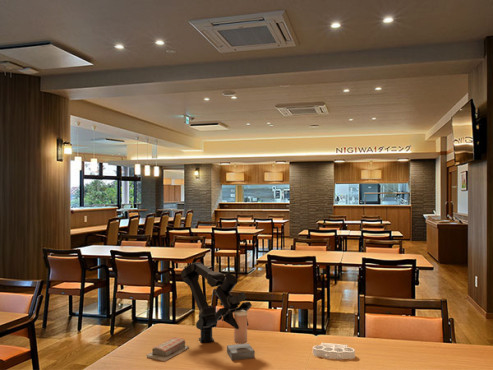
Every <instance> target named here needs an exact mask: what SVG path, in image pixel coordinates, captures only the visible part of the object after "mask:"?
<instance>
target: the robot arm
mask: <svg viewBox="0 0 493 370" xmlns="http://www.w3.org/2000/svg"><path fill="white" fill-rule="evenodd" d="M200 276H201V277H202V278H204V279H206V283H207V284H208V285H209V286H210V287H211V288H214V287H215V289H214V291H213V296H217V298H218V299H219V301H220V303H219V305H220V306H221V308H219V309H218V310H217V311H216V308H215V307H214V306H209V303H208V301H207V299H206V296H205V294H204V292H203V290H202V287H201V285H200V283H199V280H200V279H199V278H200ZM180 277H181V278H182V281H183V282H184V283H185V284H186V285H187V286H188V287H189V288H190V291H191V293H192V296H193V298H194V300H195V303H196V306H197V307H198V320H197V321H196V323H195V327H196V329H197V330H199V331H200V337H198V339H199V340H198V341H199V342H200V343H201V344H204V343H213V342H215V339H214V338H213V328H216V327H217V325H218V321H222V322H224V323H227V324H228V325H230V326H231V327H233V328H236V329H239V327H238V325H237V323H236V321H235V319H234V312H235V311H237V310H245V311H247V312H248V311H249V310H250V309H251V308H252V307H253V305H252V303H251V302H250V301H247V300H246V299H247V295H246V294H245V292H244V291H242V292H239V293H238V294H236V295H235V294H232V293H231V292H232V291H233V290H234V288H235V286H236V285H237V284H238V281H239V280H238V277H236V276H235V275H234V274H232V273H231V272H230V271H229V272H226V273H225V274H223V272H219V271H213V270H212V269H210V267H207V265H204V264H203V263H202V262H200V261H199V262H198V261H197V262H192V263H191V264H190V265H188V266H186V267H184V268H183V269H182V270H181V271H180ZM248 326H249V320H248V319H247V327H248Z"/></svg>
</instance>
